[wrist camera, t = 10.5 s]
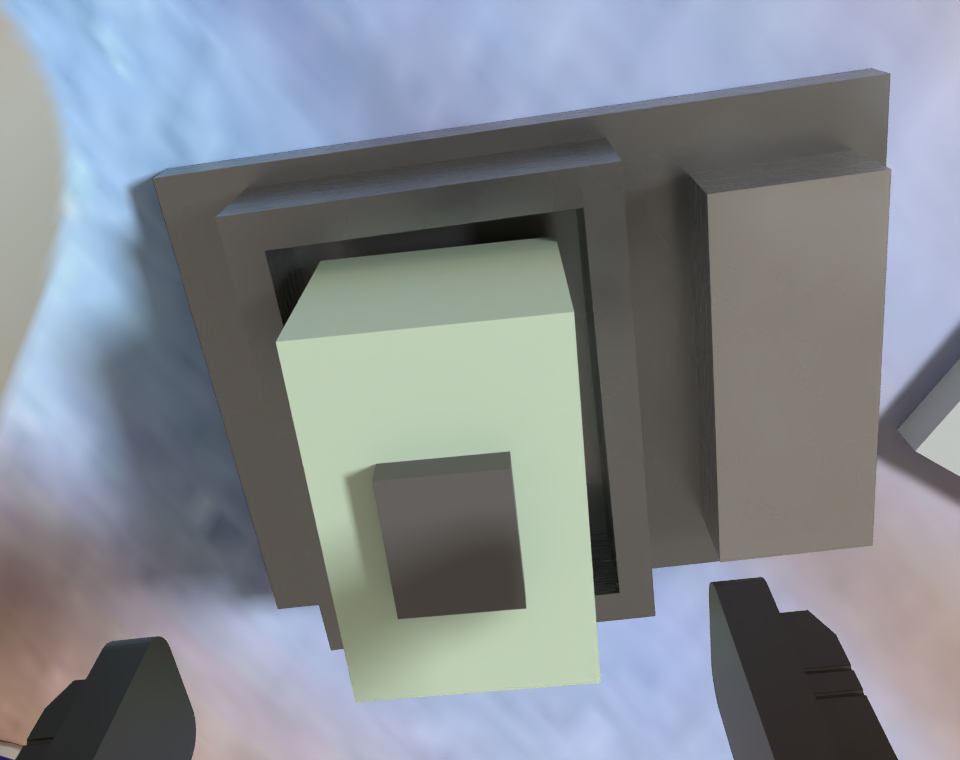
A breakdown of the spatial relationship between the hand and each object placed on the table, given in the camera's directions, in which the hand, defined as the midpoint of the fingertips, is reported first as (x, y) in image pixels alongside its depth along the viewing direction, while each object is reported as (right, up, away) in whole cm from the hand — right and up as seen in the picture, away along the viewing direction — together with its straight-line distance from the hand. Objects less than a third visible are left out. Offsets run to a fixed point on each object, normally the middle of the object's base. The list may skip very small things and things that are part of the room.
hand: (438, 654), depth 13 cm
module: (0, +3, +7) cm, 8 cm away
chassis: (+2, +4, +10) cm, 11 cm away
